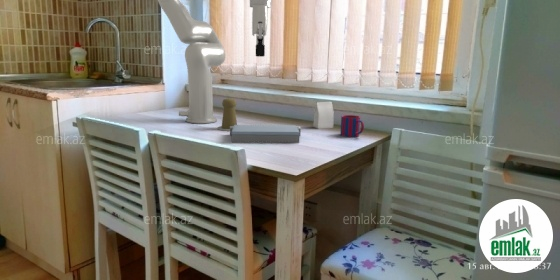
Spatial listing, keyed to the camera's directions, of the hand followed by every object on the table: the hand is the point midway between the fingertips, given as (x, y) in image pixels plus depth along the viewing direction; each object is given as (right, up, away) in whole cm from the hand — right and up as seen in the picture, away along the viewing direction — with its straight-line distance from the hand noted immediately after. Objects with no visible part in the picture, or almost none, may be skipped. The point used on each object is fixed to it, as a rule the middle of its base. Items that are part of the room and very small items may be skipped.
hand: (260, 56), depth 148 cm
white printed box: (+24, -25, +14) cm, 38 cm away
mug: (+33, -29, -1) cm, 44 cm away
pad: (-12, -26, +8) cm, 29 cm away
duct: (+2, -29, -7) cm, 30 cm away
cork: (-12, -26, +9) cm, 29 cm away
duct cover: (+2, -27, -8) cm, 28 cm away
